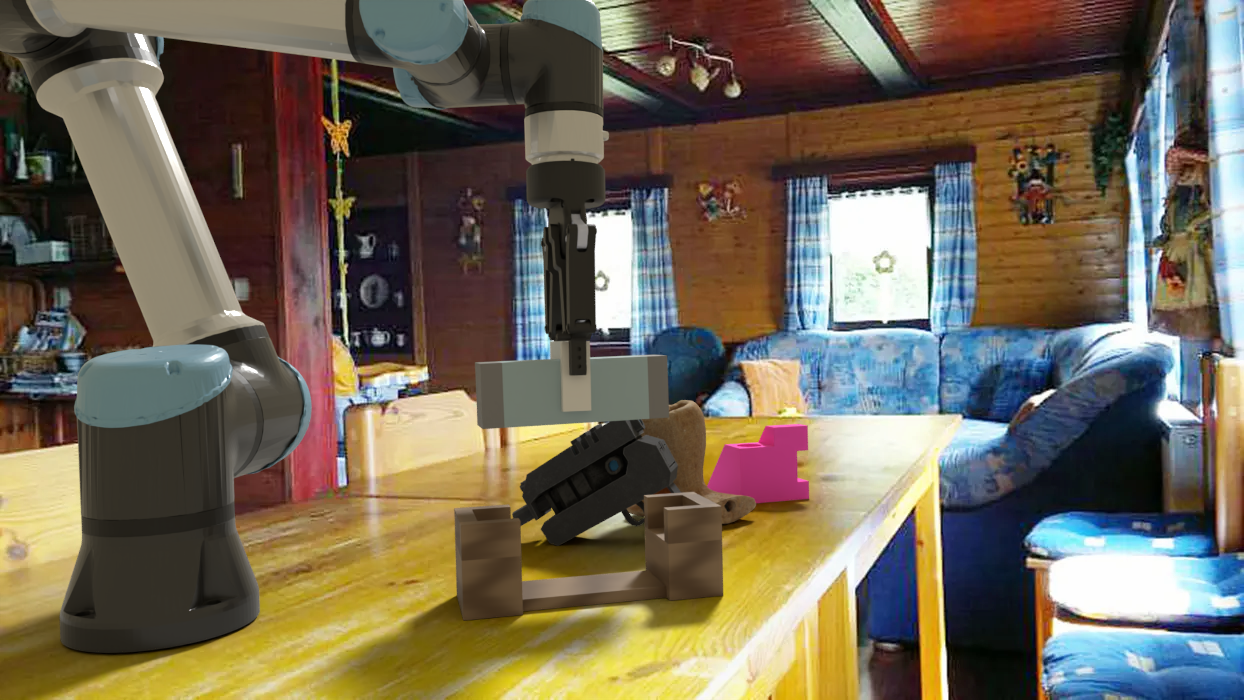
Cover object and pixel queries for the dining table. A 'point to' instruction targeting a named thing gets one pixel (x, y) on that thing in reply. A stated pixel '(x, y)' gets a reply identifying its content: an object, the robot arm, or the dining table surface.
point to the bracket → (764, 466)
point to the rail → (536, 391)
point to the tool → (597, 479)
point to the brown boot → (692, 458)
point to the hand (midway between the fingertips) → (570, 408)
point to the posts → (675, 569)
